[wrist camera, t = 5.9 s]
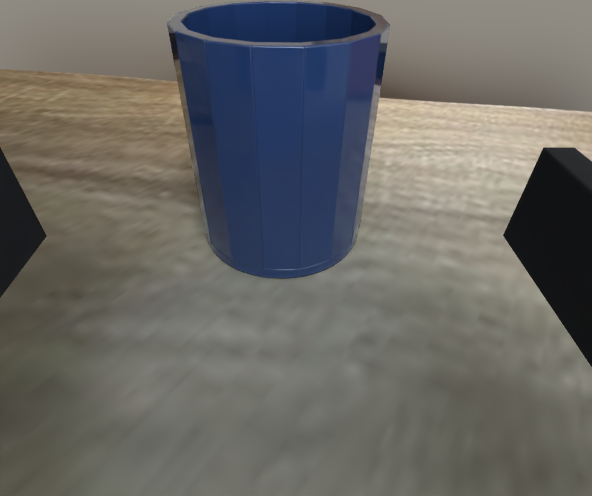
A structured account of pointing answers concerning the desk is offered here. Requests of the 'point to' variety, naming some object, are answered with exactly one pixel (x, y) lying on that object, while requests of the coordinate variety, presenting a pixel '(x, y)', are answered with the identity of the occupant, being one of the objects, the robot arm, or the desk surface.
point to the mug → (279, 127)
